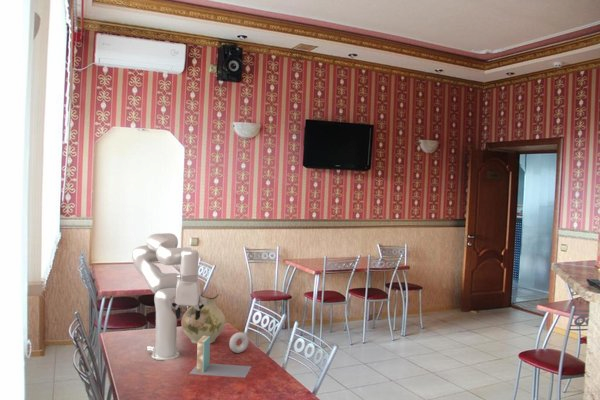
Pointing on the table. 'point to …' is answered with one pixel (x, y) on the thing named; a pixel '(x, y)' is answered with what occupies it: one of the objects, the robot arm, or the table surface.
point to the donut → (235, 338)
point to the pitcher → (203, 321)
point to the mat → (224, 370)
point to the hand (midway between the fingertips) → (187, 318)
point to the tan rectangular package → (203, 353)
